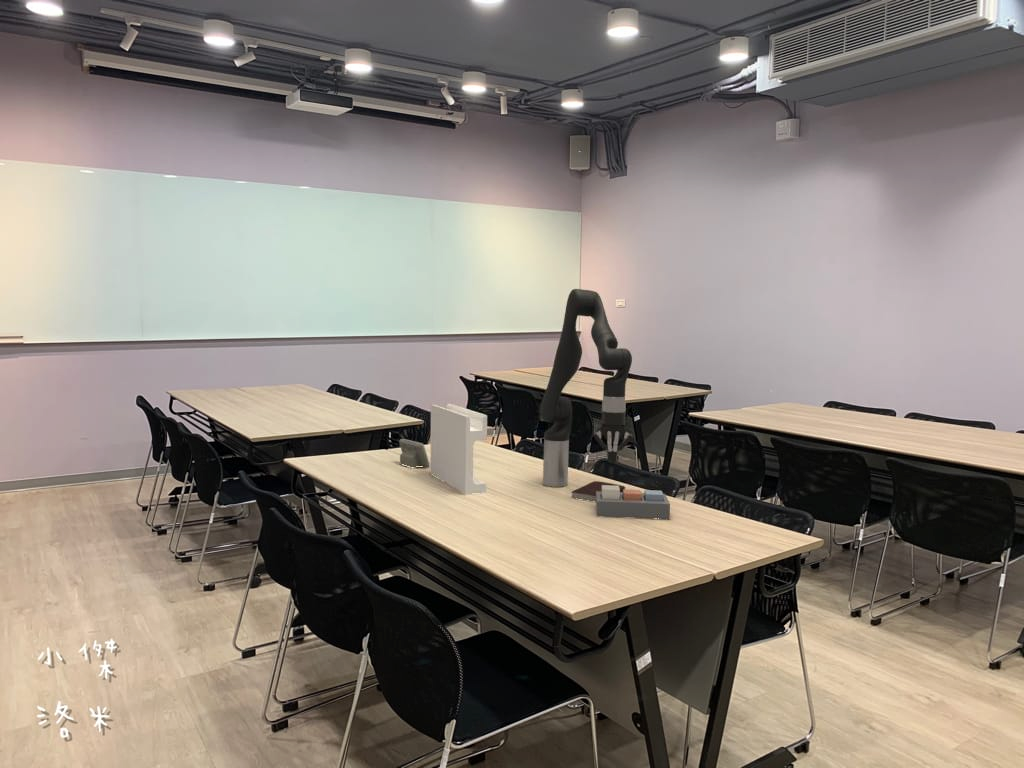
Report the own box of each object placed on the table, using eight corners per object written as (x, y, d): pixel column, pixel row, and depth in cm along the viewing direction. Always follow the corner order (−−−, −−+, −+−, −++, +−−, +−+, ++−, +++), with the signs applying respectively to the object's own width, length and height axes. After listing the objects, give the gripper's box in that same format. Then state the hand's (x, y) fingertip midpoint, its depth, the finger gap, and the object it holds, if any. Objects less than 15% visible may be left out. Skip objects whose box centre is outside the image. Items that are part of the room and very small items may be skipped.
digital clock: (431, 468, 302) (431, 443, 301) (411, 470, 297) (411, 444, 296) (415, 461, 315) (415, 436, 314) (395, 463, 311) (395, 438, 310)
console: (596, 516, 235) (597, 501, 234) (595, 505, 248) (596, 491, 247) (669, 519, 233) (670, 504, 232) (664, 508, 246) (665, 494, 245)
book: (625, 494, 267) (625, 485, 267) (602, 505, 251) (603, 495, 250) (593, 489, 274) (594, 480, 273) (570, 499, 257) (570, 490, 257)
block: (430, 474, 290) (430, 404, 288) (449, 472, 294) (449, 403, 291) (465, 495, 259) (466, 416, 256) (486, 492, 263) (487, 415, 260)
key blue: (645, 507, 237) (645, 494, 236) (643, 503, 242) (644, 490, 242) (663, 508, 236) (663, 494, 236) (661, 503, 242) (661, 490, 242)
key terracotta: (623, 506, 238) (624, 493, 237) (622, 502, 243) (623, 489, 243) (641, 507, 237) (641, 494, 237) (639, 502, 243) (640, 489, 242)
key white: (601, 502, 238) (602, 489, 238) (601, 498, 244) (601, 485, 243) (619, 503, 238) (619, 489, 237) (618, 498, 243) (618, 485, 243)
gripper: (633, 409, 241) (631, 461, 243) (592, 407, 242) (591, 459, 244) (635, 412, 233) (633, 465, 235) (593, 410, 234) (591, 464, 236)
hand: (611, 462), depth 239 cm, fingers closed
